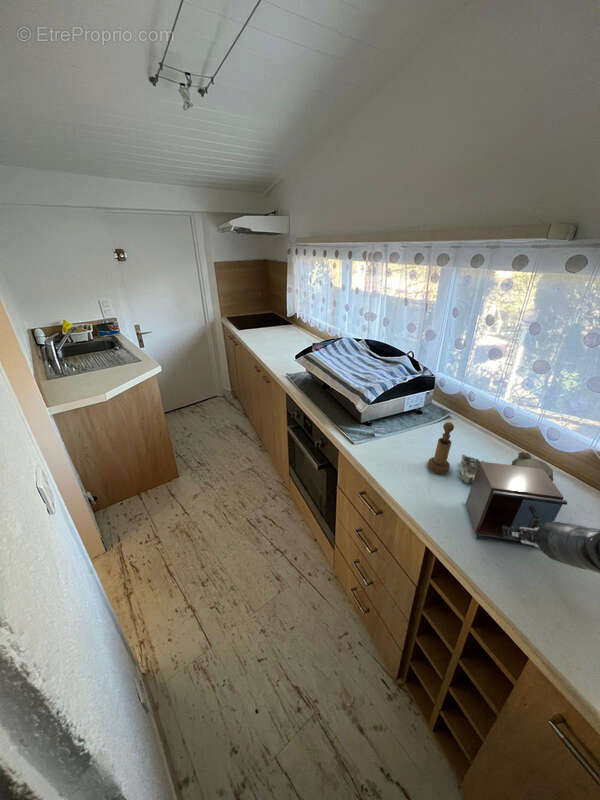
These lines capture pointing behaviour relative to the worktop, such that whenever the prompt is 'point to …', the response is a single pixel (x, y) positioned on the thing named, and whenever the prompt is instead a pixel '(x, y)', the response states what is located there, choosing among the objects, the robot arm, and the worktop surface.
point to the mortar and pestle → (442, 452)
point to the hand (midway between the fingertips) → (525, 534)
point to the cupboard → (506, 497)
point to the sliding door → (534, 514)
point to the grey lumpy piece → (468, 468)
